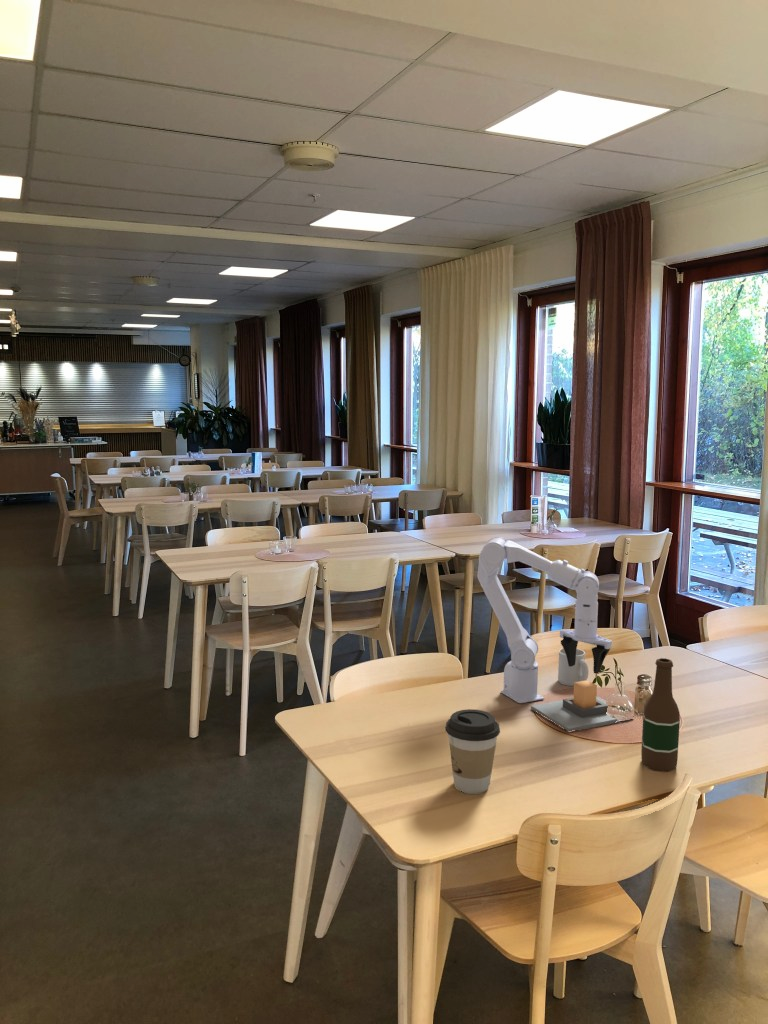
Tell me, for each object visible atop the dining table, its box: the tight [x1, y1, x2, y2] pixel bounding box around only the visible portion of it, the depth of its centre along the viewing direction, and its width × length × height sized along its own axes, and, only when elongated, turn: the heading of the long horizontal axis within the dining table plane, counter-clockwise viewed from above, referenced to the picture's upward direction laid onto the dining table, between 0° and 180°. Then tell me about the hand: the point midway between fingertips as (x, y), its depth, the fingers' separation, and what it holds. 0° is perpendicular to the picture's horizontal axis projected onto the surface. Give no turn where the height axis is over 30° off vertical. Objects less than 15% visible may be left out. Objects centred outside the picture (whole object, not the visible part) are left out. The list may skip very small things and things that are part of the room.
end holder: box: [530, 695, 635, 732], centre depth 208 cm, size 16×20×3 cm
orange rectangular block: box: [573, 679, 598, 708], centre depth 208 cm, size 4×4×7 cm
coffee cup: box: [445, 708, 501, 795], centre depth 169 cm, size 11×11×15 cm
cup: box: [557, 647, 589, 687], centre depth 229 cm, size 7×10×9 cm
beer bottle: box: [640, 657, 681, 773], centre depth 178 cm, size 8×8×24 cm
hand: (584, 669), depth 214 cm, fingers open, 7 cm apart
